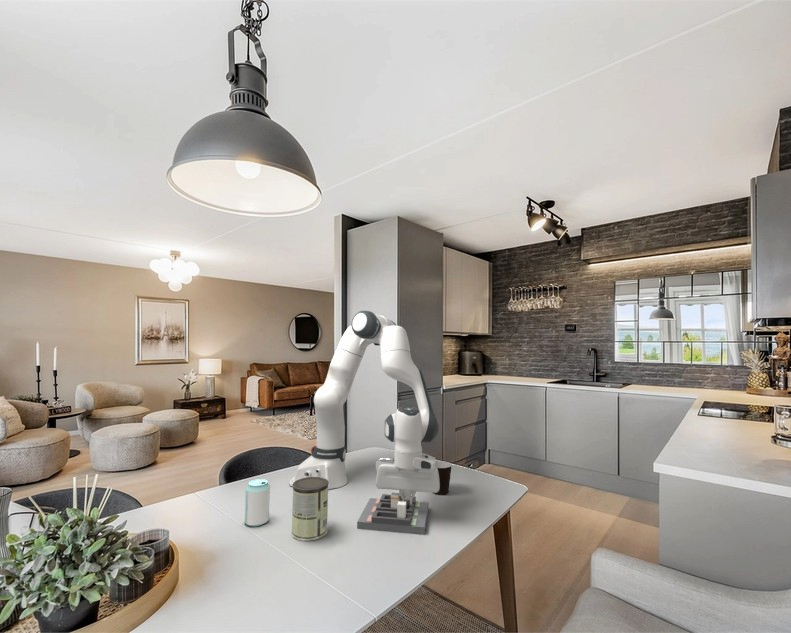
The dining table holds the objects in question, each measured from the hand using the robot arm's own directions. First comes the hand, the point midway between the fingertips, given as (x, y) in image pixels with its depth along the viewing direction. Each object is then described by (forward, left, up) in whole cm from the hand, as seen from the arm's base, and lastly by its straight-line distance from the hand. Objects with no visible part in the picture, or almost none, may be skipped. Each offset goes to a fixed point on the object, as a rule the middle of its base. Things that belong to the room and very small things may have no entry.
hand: (407, 504), depth 123 cm
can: (-45, -10, -5) cm, 47 cm away
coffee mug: (+9, +26, -5) cm, 28 cm away
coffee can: (-27, -14, -5) cm, 31 cm away
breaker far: (-1, +6, -2) cm, 7 cm away
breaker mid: (-4, 0, -2) cm, 4 cm away
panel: (-4, 0, -5) cm, 6 cm away
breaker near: (-1, -7, -2) cm, 7 cm away
